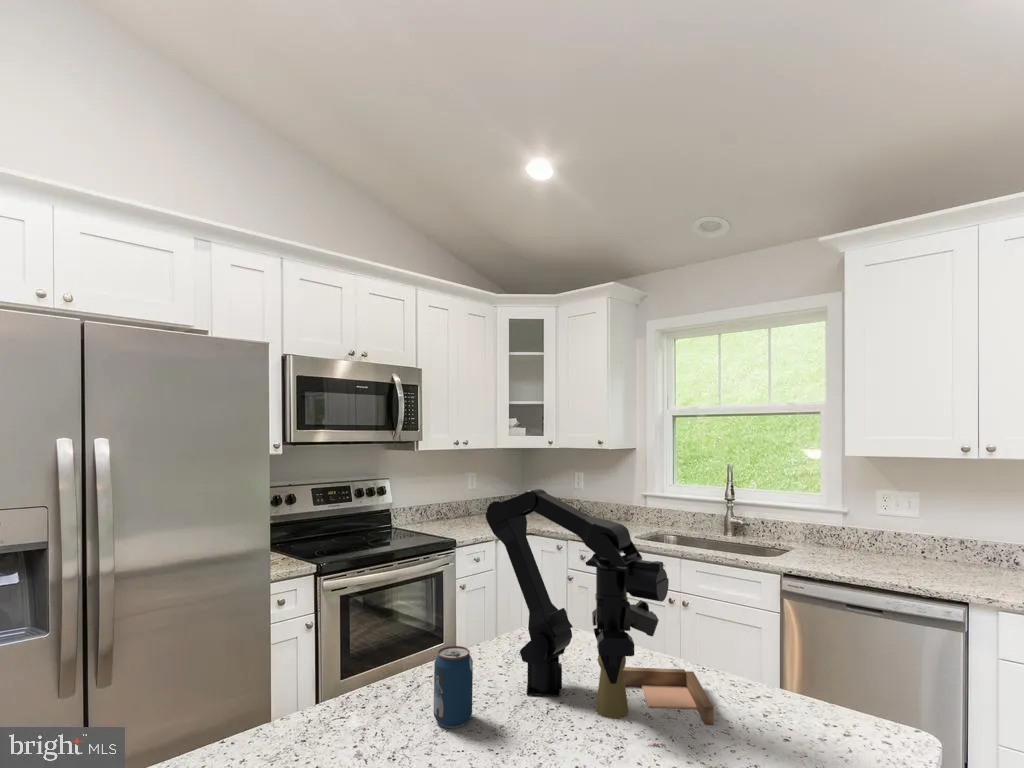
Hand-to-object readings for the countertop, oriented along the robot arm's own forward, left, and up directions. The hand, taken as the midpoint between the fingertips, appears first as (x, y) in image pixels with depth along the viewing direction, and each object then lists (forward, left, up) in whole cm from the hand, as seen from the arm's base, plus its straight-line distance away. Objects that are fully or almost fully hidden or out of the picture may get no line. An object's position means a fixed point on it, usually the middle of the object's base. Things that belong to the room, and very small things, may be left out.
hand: (611, 677), depth 112 cm
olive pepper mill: (0, 0, -6) cm, 6 cm away
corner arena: (+8, +5, -6) cm, 11 cm away
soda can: (-29, -6, -6) cm, 30 cm away
